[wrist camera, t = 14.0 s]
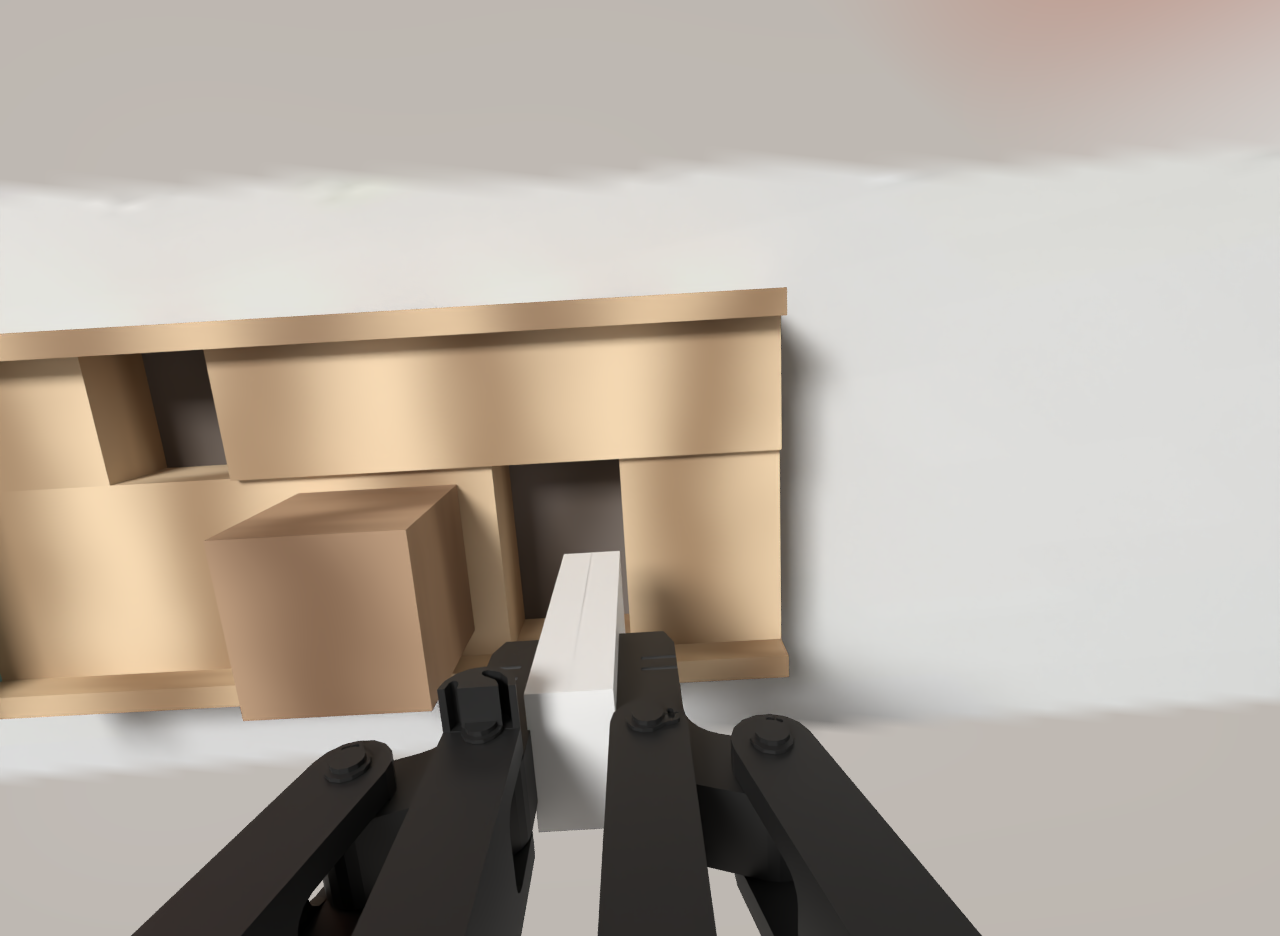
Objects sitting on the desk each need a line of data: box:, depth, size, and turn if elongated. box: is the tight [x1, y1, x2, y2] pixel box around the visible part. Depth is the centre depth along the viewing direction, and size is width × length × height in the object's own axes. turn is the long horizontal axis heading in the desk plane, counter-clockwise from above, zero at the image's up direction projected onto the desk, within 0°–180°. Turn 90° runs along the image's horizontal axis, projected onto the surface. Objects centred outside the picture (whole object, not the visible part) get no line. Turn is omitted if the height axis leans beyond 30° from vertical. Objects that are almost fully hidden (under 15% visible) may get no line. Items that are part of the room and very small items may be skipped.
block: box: [203, 484, 475, 721], centre depth 18 cm, size 5×5×4 cm
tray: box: [0, 287, 789, 719], centre depth 20 cm, size 27×12×6 cm, turn 93°
